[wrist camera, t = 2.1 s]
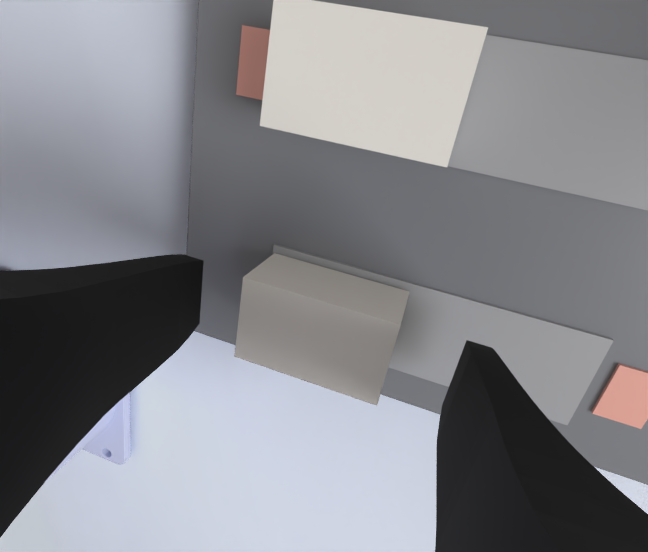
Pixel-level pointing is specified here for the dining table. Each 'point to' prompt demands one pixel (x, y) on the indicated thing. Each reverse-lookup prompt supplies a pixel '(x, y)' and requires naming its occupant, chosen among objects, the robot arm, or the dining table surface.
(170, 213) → the dining table surface
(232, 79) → the switch unit
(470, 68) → the knob
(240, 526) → the dining table surface
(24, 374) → the robot arm
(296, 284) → the knob
